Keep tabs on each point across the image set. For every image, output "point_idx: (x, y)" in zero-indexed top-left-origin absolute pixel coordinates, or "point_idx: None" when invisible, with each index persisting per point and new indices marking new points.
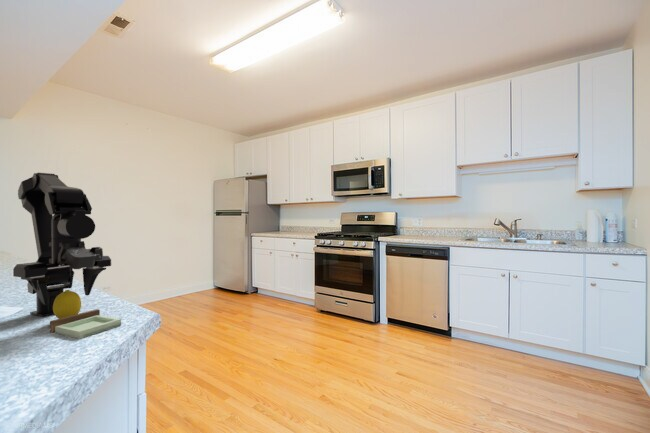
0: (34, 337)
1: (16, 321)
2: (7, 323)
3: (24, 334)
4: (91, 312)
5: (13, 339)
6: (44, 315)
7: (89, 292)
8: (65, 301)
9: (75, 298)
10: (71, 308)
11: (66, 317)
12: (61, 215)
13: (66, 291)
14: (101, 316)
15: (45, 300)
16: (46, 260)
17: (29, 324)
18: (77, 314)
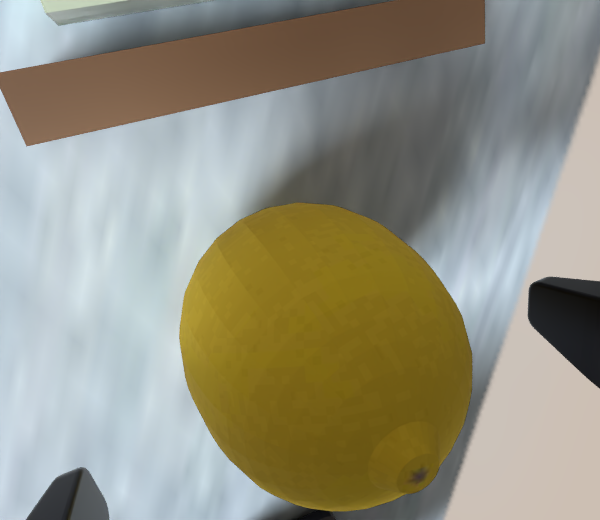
0: (506, 11)
1: None
2: (454, 473)
3: (500, 161)
4: (111, 56)
5: (560, 97)
6: (322, 511)
7: (45, 507)
8: (403, 250)
9: (295, 283)
10: (306, 206)
11: (370, 37)
12: None
13: (429, 431)
14: None
15: (593, 281)
16: None
17: None
18: (265, 70)
